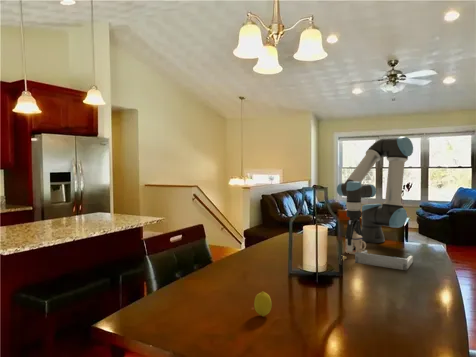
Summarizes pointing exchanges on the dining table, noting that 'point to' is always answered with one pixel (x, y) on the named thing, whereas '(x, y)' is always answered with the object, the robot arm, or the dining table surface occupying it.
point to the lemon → (262, 303)
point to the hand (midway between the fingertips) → (353, 248)
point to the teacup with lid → (356, 243)
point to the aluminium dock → (383, 260)
